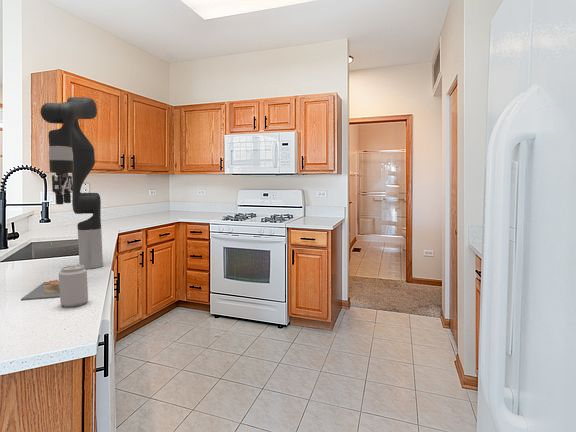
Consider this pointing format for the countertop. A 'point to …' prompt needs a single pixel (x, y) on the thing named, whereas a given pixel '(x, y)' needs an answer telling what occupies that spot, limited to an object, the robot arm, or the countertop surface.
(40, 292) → the mat
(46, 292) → the beige rectangular block
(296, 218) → the countertop surface
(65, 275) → the can
